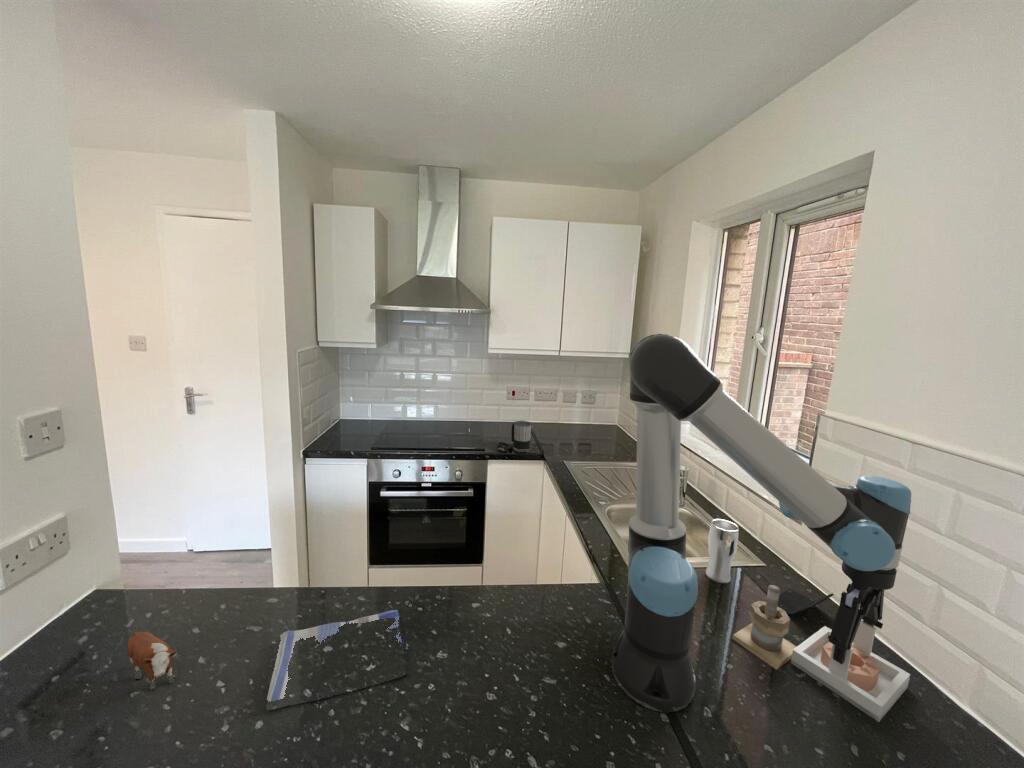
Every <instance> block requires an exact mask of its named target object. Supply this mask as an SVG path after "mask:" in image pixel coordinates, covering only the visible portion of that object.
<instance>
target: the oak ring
mask: <svg viewBox="0 0 1024 768" xmlns="http://www.w3.org/2000/svg"><path fill="white" fill-rule="evenodd" d="M765 606H766V601H762V600H757V601H756V602H753V603H751V606H750V613H749V619H750V621H751V623H753V625H754V626H755V627H757V628H758V629H760V630H761V631H763V632H764V633H766V634H768V635H773V636H778V637H782V636H783V637H785V635H787V634H788V633H789V631H790V630H789V628H790V624H791V623H790V622H791V618H790V617H788V615H787V613H786V612H785V611H784V610H783V609H781V608H779V607H778V606H777V611H776V618H770V617H768V616H766V615H765V614H764V612H765Z"/></svg>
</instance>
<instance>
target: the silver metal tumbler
mask: <svg viewBox="0 0 1024 768" xmlns="http://www.w3.org/2000/svg"><path fill="white" fill-rule="evenodd" d="M739 529H740V527H739V526H738V525H737V524H736V523H734V522H732V521H729V520H726V519H721V518H714V519H712V520H711V523H710V526H709V532H708V538H707V543H708V547H707V549H708V563H707V566H706V569H705V575H706V576H707V578H709V579H710V580H712V581H714V582H717V583H719V584H728V583H730V582H731V579H732V577H731V567H732V563H733V561H734V558H735V555H736V553H737V548H738V543H739V531H740V530H739Z"/></svg>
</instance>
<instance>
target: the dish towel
mask: <svg viewBox="0 0 1024 768" xmlns="http://www.w3.org/2000/svg"><path fill="white" fill-rule="evenodd" d="M398 612H399V610H397V609H393V610H391V609H389V610H388V611H383V612H381V613H377V614H373V615H367V616H362V617H359V618H356V619H354V620H353V619H352V620H349V621H339V622H338V621H336V622H330V623H323V624H320V625H317V626H313V627H308V628H304V629H297V630H289V629H288V630H287V631H284V632H282V633H281V634H280V635H279V638H280V640H281V641H279V643H280V644H279V645H278V647H279V649H278V648H277V651H278V653H277V652H276V657H277V658H275V661H274V666H275V667H273V670H274V671H272V675H271V677H270V678H271V679H270V682H269V688H268V692H267V697H266V700H268V702H269V701H270V702H271V701H273V702H274V701H276V700H280V699H283V698H284V697H285V696H284V695H285V694H286V693H285V690H286V688H287V687H286V685H287V682H288V680H290V679H291V678H290V679H288V678H289V677H288V671H287V670H288V665H289V661H290V658H291V657H292V655H291V654H292V653H293V648H294V645H295V642H296V641H298V640H300V638H301V639H302V638H303V639H304V640H306V638H310V637H313V636H315V638H316V639H315V641H316V640H318V642H320V644H321V642H322V640H324V639H326V638H327V636H331V635H333V634H334V635H335V634H336V633H337V631H338V632H339V629H338V628H339V627H341V626H343V625H344V624H346V623H347V624H348V623H349V624H351V623H353V624H354V623H366V622H371V621H375V620H379V619H384V618H395V620H396V621H395V622H394V623H393V624H394V625H393V624H392V625H391V626H390V627H388V628H389V629H393V628H396V627H397V628H398V626H399V624H398V623H399V622H398V620H399V617H400V613H398ZM395 624H396V625H395ZM388 628H387V629H388ZM398 631H399V630H398ZM397 633H398V632H397ZM399 634H400V632H399V633H398V635H397V634H396V638H397V639H398V643H399V641H400V642H401V643H402V639H401V636H400V637H399ZM394 637H395V636H394ZM323 638H324V639H323ZM396 641H397V640H396ZM324 642H325V640H324ZM400 646H401V645H400Z"/></svg>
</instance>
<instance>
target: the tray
mask: <svg viewBox="0 0 1024 768" xmlns="http://www.w3.org/2000/svg"><path fill="white" fill-rule="evenodd" d="M831 631H832V628H830V627H827V626H826V625H824V626H823V627H821V628H820V629H818V631H816V632H814V633H813V634H812V635H810V636H809V637H808V638H807V639H805V640H804V641H803V642H801V643H800V644H799V645H796V646H797V647H796V648H795V649H793V652H792V658H791V659H790V663H791V664H792V665H793V666H795V667H796V668H797V669H799V670H800V671H802V672H804V673H806V675H808V676H810V677H811V678H812V679H814V680H815V681H817V682H818V683H820V684H821V685H823V686H825V688H828V689H829V691H832V692H833V693H835V694H836V695H837V696H840V697H841V698H843V699H844V700H845V701H847V703H850V704H851V705H853V706H854V707H855V708H857V709H859V710H860V711H862V712H863V713H864V714H866V715H868V716H869V717H871V718H872V719H873V720H875V721H877V722H878V723H880V721H881V720H883V718H884V716H886V715H887V713H888V712H889V711H890V710H891V708H892V707H893V706H894V705H895V703H896V702H897V701H898V699H900V698H901V696H902V695H903V694H904V692H905V691H906V690H907V689H908V687H909V682H910V678H911V673H909V672H907V671H906V670H904V669H902V668H901V667H898V666H897V665H895V664H894V663H891V662H890V661H888V660H886V659H884V658H882V657H881V656H880V655H877V654H876V653H874V652H872V651H871V655H870V658H871V659H872V660H873V661H874V663H875V664H876V665H877V667H878V668H879V669H880V672H879V677H878V682H877V684H876V685H875V686H874V687H873V689H872V690H871V691H867V690H863V689H860V688H859V687H857V686H856V685H854V684H852V683H851V682H849V681H848V680H846V679H844V678H843V677H841V676H840V675H838V674H837V673H835V672H833V671H832V670H830V669H829V668H827V667H826V666H824V665H823V663H822V661H821V654H822V649H823V646H824V645H826V644H827V643H828V642H829V639H828V635H829V636H830V635H831ZM851 646H853V643H852V645H851Z"/></svg>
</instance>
